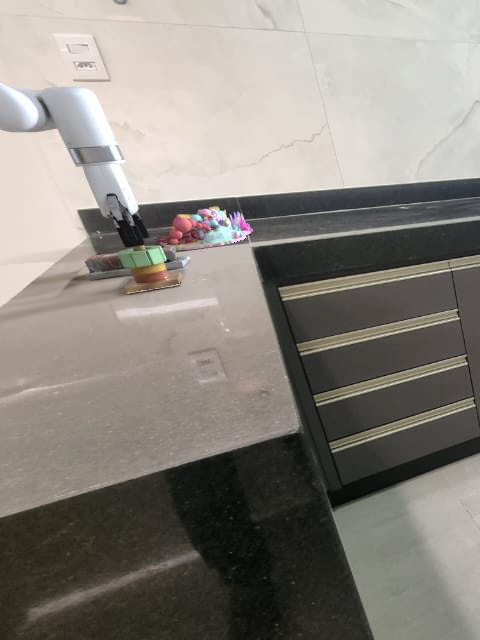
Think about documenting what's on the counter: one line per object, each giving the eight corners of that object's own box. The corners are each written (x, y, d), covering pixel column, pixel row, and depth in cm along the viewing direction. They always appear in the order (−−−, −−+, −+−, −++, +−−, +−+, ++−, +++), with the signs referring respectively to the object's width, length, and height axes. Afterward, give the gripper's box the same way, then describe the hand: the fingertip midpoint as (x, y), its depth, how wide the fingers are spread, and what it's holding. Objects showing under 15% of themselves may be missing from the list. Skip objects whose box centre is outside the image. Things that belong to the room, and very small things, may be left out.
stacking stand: (126, 295, 111) (103, 247, 106) (132, 285, 117) (110, 240, 113) (180, 286, 115) (160, 240, 111) (182, 277, 122) (164, 233, 118)
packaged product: (77, 261, 120) (91, 252, 128) (88, 281, 122) (101, 272, 130) (176, 248, 128) (183, 241, 136) (184, 268, 130) (191, 259, 138)
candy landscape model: (147, 244, 158) (133, 213, 154) (236, 229, 175) (225, 200, 171) (177, 253, 145) (163, 219, 141) (270, 236, 162) (259, 205, 158)
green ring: (122, 269, 110) (115, 255, 108) (126, 263, 115) (120, 249, 114) (165, 263, 113) (158, 249, 112) (167, 257, 118) (161, 244, 117)
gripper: (81, 157, 109) (121, 239, 117) (62, 160, 97) (108, 253, 104) (128, 153, 113) (164, 233, 121) (116, 156, 100) (157, 245, 108)
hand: (138, 242), depth 112 cm, fingers open, 9 cm apart
